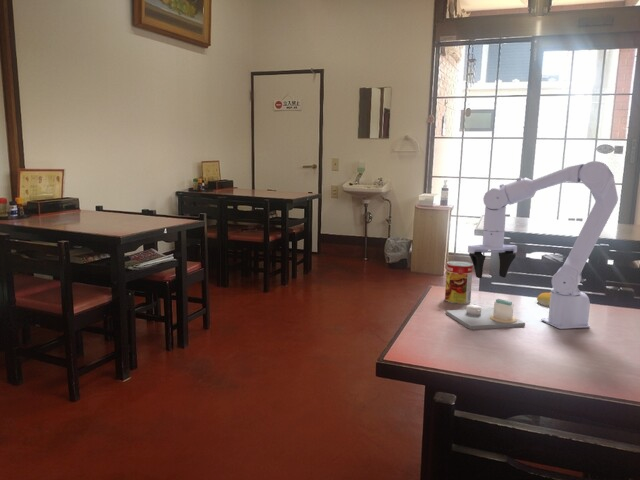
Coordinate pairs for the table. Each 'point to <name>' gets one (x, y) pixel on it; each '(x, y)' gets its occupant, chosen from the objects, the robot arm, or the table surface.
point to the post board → (481, 318)
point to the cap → (503, 310)
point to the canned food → (458, 282)
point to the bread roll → (544, 299)
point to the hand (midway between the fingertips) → (490, 277)
